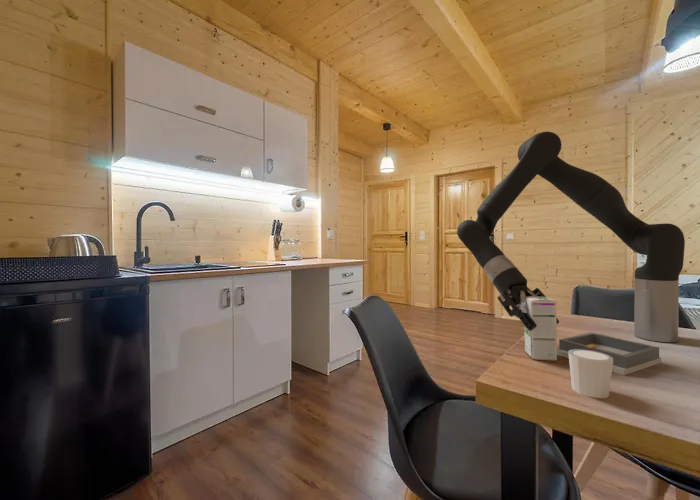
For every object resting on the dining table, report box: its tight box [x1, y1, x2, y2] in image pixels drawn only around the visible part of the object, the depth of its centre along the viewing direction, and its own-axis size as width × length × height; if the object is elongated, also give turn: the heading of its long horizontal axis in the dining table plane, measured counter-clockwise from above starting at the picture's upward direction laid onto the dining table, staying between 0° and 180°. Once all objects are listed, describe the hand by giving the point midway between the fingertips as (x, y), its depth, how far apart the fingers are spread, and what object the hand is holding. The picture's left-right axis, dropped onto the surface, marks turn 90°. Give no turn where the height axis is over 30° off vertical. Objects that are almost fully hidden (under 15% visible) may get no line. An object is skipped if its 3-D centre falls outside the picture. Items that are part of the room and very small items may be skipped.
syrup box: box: [523, 296, 558, 361], centre depth 78 cm, size 6×6×14 cm
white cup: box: [568, 349, 613, 399], centre depth 60 cm, size 7×7×7 cm
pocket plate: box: [557, 332, 662, 376], centre depth 76 cm, size 16×14×4 cm
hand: (544, 326), depth 77 cm, fingers closed on syrup box, 8 cm apart
